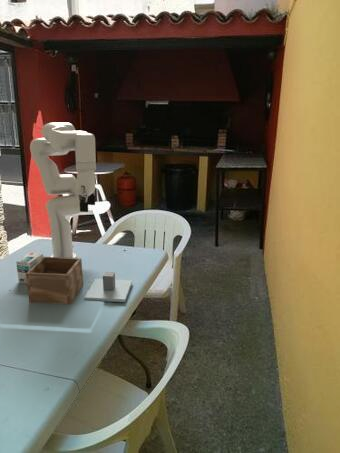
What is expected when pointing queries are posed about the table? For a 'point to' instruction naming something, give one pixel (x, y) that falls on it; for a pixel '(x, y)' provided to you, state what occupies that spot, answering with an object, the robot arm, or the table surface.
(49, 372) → the table surface
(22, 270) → the light bulb box
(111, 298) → the lid
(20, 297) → the table surface
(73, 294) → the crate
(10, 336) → the table surface
